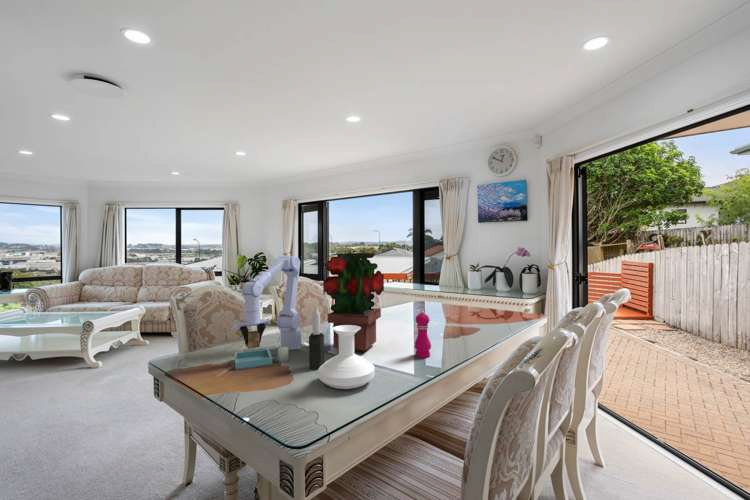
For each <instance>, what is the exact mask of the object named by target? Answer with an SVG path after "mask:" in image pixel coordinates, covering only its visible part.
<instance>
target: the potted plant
mask: <svg viewBox="0 0 750 500" xmlns="http://www.w3.org/2000/svg"><path fill="white" fill-rule="evenodd" d="M374 256H375V253H374V252H365V253H363V252H362V253H361V252H360V253H359V252H358V253H355V252H353V253H351V252H350V253H349V252H345V253H331V257H330V260H327V261H326V264H325V269H326V271H327V272H329V273H330V275H332V276H328V277H326V280H325V278H324V277H323V279H322V281H323V284H322V285H323V294H325V293H326V295H327V296H330V298H331V299H332V300H334V304H332V305H331V306H330V310H331V311H332V312H329V313H327V323H328V324H333V327H335V326H340V325H355V326H359V327H361V329H360V330H359V331H358V332H356V333H355V334H354V353H355V354H357V353H358V354H365V352H366V351H367V350H369V349H370V348H371V346H373V345H374V344H375V343H376V342H377V320H378V319H380V318H381V317H382V311H381V310H382V308H373V307H374V306H375V302H374V301H372V300H373V299H375V294H376V295H377V296H381V294H382V292H383V291H384V290H385V282H384V280H385V274H383V273H382V272H381V270H377V269H378V267H379V266H378V264H377V263H376V262H375V263H373V262H371V260H370V259H372V258H374ZM375 270H376V272H375ZM374 293H375V294H374ZM333 327H332V328H333ZM332 331H333V330H332ZM332 333H333V349H339V335H338V334H337V333H336V332H335V331H333V332H332Z"/></svg>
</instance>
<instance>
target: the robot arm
mask: <svg viewBox="0 0 750 500" xmlns="http://www.w3.org/2000/svg"><path fill="white" fill-rule="evenodd" d="M300 269H301V260H300V258H299V257H298V256H297V255H279V256H277V258H275V259H274V263H273V264H271V265H270V267H269V268H268V269H266V271H263V270H262V271H259V272H258V274H257V275H256V276H255V277H254V278H251V280H250V281H248V282H245V283H244V284H243V286H242V288H241V293H242V295H243V299H244V312H245V313H244V316H245V317H244V318H245V320H244V321H239V322H234V323H233V328H234V329H235V330H236V329H239V331H240V332H241V334H242V337H243V340H244V345H245V346H246V345H248V332H249V328H248V327H255V326H256V331H258V332H259V333H260V343H262V342H261V341H262V337H263V333H264V331H265V329H266V327H267V325H271V324H272V323H271V319H270V318H264V319H261V318H260V316H261V314H260V313H261V311H260V309H261V308H260V306H261V305H260V296H261V295H262V293H263V291H264V289H265V287H267V285H268V284H270V282H271V281H272V278H273V277H274V276H275V275H276V274H277V273H279V272H280V271H281V272H283V273H284V274H285V275H286V285H285V292H284V293H285V294H284V300H283V307H282V309H281V310H280V311H279V312H278V315H277V316H278V317H277V318H276V327H278V330H280V345H278V348H280V347H288V351H293V350H294V351H295V350H301V349H302V332H301V329H300V328H299V326H300V313H299V312H298V311H297V310H296V304H297V294H298V287H299V286H298V284H299V278H300V271H301V270H300Z"/></svg>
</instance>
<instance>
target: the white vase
mask: <svg viewBox="0 0 750 500" xmlns="http://www.w3.org/2000/svg"><path fill="white" fill-rule="evenodd" d="M360 329H361V327H359V326H355V325H340V326H335V327H332V328H331V330H332V331H335V332H336V333H337V334H338V335H339V348H338V354H337V355H334V356H333V357H331V358H329V359H328V360H326V361H324V364H322V365H321V366H320V368H319V369H318V370H317V376H318V378H319V380H320V381H321V382H322V383H324V385H327V386H328V387H329V388H333V389H337V390H352V389H357V388H361V387H363V386H365V385H366V384H368V383H369V381H371V380H372V379H373V378H375V375H376V370H375V369H376V367H375V365H374V364H373V363H371V361H369V360H368V359H366V358H364V357H362V356H360V355H358V354H357V353H355V352H354V334H355V333H356V332H358V331H359V330H360Z"/></svg>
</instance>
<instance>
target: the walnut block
mask: <svg viewBox="0 0 750 500" xmlns="http://www.w3.org/2000/svg"><path fill="white" fill-rule="evenodd" d="M260 344H261V342H260V333H259V332H258V331H257V330H251V331H248V345H246V344H245V347H246V348H247V349H256V348H260V347H261V345H260Z"/></svg>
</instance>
